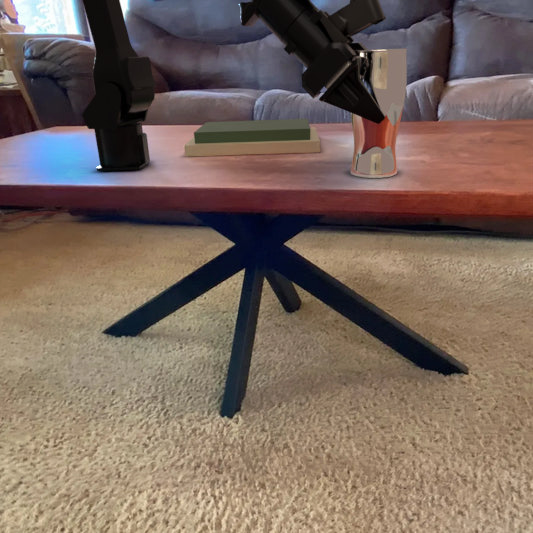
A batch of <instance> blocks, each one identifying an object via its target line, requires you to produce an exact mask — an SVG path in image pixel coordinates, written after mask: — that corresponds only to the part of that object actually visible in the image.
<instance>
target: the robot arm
mask: <svg viewBox="0 0 533 533" xmlns="http://www.w3.org/2000/svg"><path fill="white" fill-rule="evenodd" d="M81 2H82V5H83V9H84V12H85V16H86V19H87V23H88V27H89V30H90V34H91V38H92V41H93V45H94V49H95V56H94V60H93V61H94V62H93V67H92V73H91V74H92V82H93V88H94V89H93V90H94V95H93V97H92V98H91V100H90V101H89V103H88V105H87V106H86V107H85V109H84V111H83V112H82V115H81V116H82V119H83V121H84V123H85V125H86V127H87V129H88V130H94V136H95V142H96V148H97V153H98V159H99V166H96V167H95V170H96V172H111V171H112V172H114V171H115V172H116V171H137V170H138V171H139V170H142V169H143V168H144V167H145V166H147V165H148V164H149V163H150V162H151V159H150V158H151V157H150V150H149V142H148V135H147V133H146V132H144V131H143V123H144V122H146V121H147V118H148V111H149V108H150V107H151V106H152V104H153V101H154V100H155V96H156V95H155V94H156V93H155V87H158V83H157V82H156V80H155V78H154V75H153V71H152V62H151V60H150V57H149V56H139V54H137V52H136V51H135V49H134V48H133V45H132V43H131V40H130V36H129V32H128V28H127V25H126V24H127V23H126V20H125V16H124V13H123V9H122V5H121V0H81ZM239 7H240V21H239V22H240V25H241V26H242V27H250V28H252V27H254V26H255V24H256V23H257V22H258V21H260V22H262V23H263V25H264V26H266V28H267V29H268V30H269V31H270V32H271V33H272V34H273V35H274V36H275V37H276V38H277V39H278V40H279V41H280V42H281V43H282V44H283V45H284V48H283V50H284V51H285V52H286V54H288V55H289V56H294V57H295V58H296V59H297V60H298V61H299V62H300V64H302V65H303V66H304V67H305V68H306V69H305V70H304V71H303V72H302V73H301V88H302V89H303V90H304V91H305V92H306V93H307V95H308V96H310V98H312V99H316V98H318V97H319V98H318V101H319V102H321V103H326V104H328V105H331V106H333V107H336V108H339V109H341V110H343V111H346V112H348V113H350V114H351V113H353V114H355V115H358V116H360V117H362V118H365V119H367V120H370V121H372V122H374V123H377V124H380V123H381V122H382V121H383V120H384V119H385V116H384V114H383V112H382V111H381V109H380V108H379V106H378V105H377V103H376V102H375V100H374V99H373V97H372V96H371V94H370V93H369V91H368V90H367V88H366V87H365V85H364V84H363V82H362V81H361V79H360V58H356V59H355V60H354V61H353V62H351V59H353V58H354V57H355V55H356V53H355V52H354V51H356V50H369V49H368V48H367V47H366V46H365V45H364V44H363V43H362V42H354V41H355V40H354V38H353V36H355V35H357V34H359V33H360V32H363V31H364V30H366V29H368V28H369V27H371V26H373V25H375V26H377V25H378V24H381V23H382V22H384V21H385V20H386V15H385V12H384V9H383V7H382V5H381V2H380V0H349V3H348V4H346V5H345V6H343V7H341V8H339V9H338V10H337V11H335V12H334V13H332V14H330V13H329V12H328V11H324V10H322V9H319V8H318V7H317V6H316V5H315V4H314V3H313V2H312V0H249V1H247V2H246V1H241V2H240V3H239ZM324 88H325V89H326V90H325V91H324V93H323V94H322V92H321V91H322V90H323V89H324ZM320 95H321V96H320ZM142 122H143V123H142Z"/></svg>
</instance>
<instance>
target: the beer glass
mask: <svg viewBox="0 0 533 533" xmlns="http://www.w3.org/2000/svg"><path fill="white" fill-rule="evenodd" d="M407 51H408V49H407V48H383V49H382V48H381V49H379V48H378V49H368V50H356V51H354V52H355V53H356V55H355V57H354V58H353V59H351V62H353V61H354V60H355V59H356V58H360V79H361V81H362V82H363V84H364V85H365V87H366V88H367V90H368V91H369V93H370V94H371V96H372V97H373V99H374V100H375V102H376V103H377V105H378V106H379V108H380V109H381V111H382V112H383V114H384V116H385V119H384V120H383V121H382V122H381V123H380V124H377V123H374V122H372V121H370V120H367V119H365V118H362V117H360V116H358V115H355V114H353V113H350V119H351V126H352V135H353V155H352V158H351V159H352V160H351V164H350V170H349V172H350V174H351V175H352V176H354V177H357V178H363V179H365V178H366V179H384V178H390V177H393V176H395V175H397V174H398V164H397V155H396V153H397V152H396V150H397V149H396V144H397V137H398V133H399V128H400V124H401V119H402V115H403V111H404V107H405V101H406V95H407V83H408V82H407V81H408V80H407V78H408V62H407V60H408V59H407V58H408V57H407Z"/></svg>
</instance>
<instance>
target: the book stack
mask: <svg viewBox="0 0 533 533" xmlns="http://www.w3.org/2000/svg"><path fill="white" fill-rule="evenodd" d="M183 148H184V157H186V158H187V157H210V156H211V157H214V156H215V157H217V156H246V155H247V156H248V155H277V154H278V155H279V154H281V155H282V154H311V153H321V140H320V136H319V134H318V130H317V128H316V127H315V126H314V127H311V126H310V122H309V119H308V118H288V119H260V120H259V119H257V120H231V121H230V120H228V121H208V122H207V121H206V122H205V123H203V124H201V126H199V127H198V128H197V129H196V130H195V131H193V137H191V139H190V140H189V141H188V142H186V143H185V144H184V145H183Z"/></svg>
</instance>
